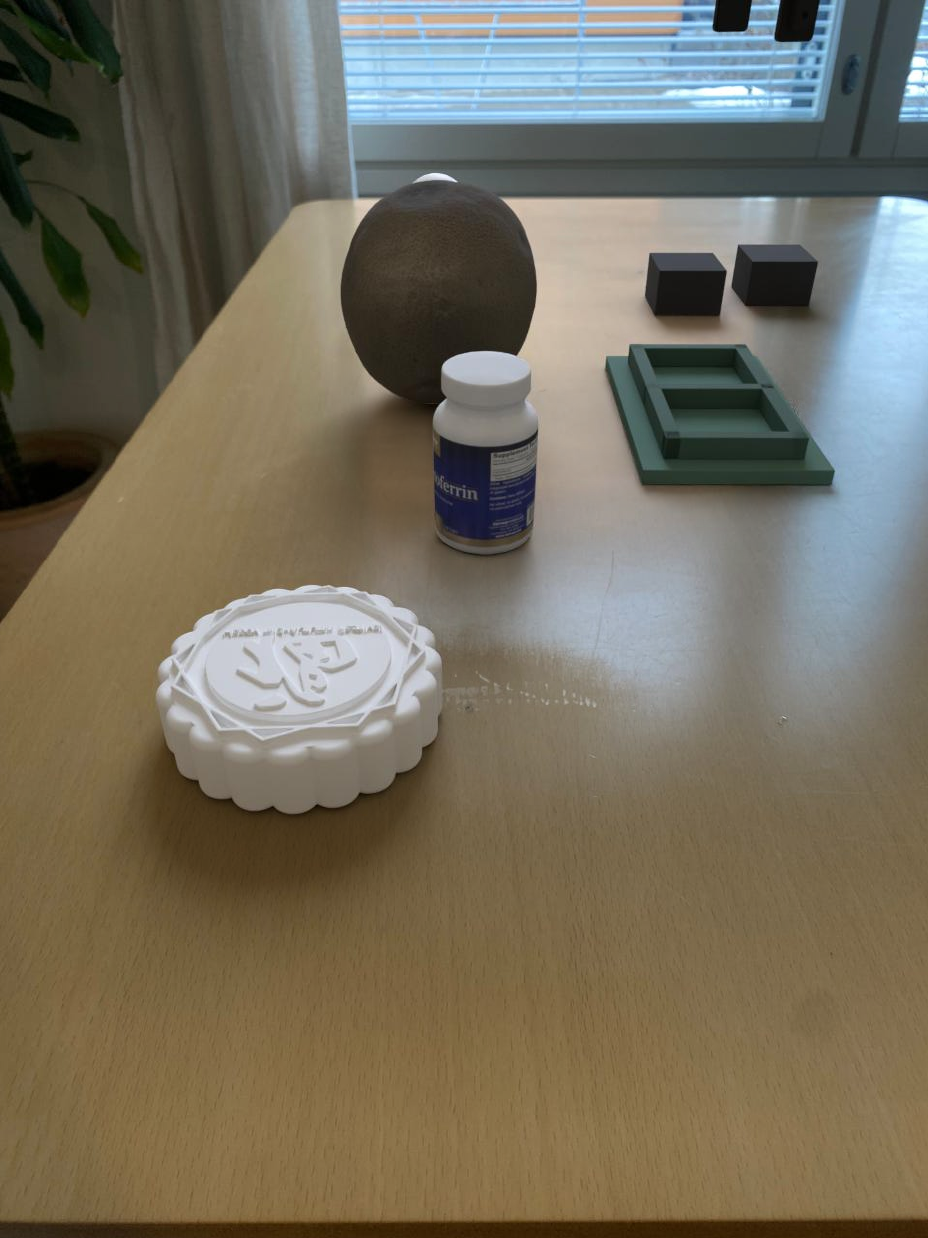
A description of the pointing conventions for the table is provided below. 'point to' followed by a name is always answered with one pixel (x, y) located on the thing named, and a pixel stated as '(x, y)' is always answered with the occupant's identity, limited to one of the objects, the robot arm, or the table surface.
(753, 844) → the table surface
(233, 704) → the mooncake
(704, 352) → the base mat
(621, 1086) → the table surface
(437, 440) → the pill bottle
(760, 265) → the pad
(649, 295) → the black square block
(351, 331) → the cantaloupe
